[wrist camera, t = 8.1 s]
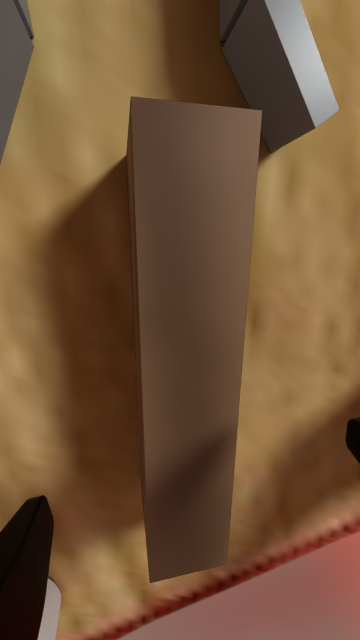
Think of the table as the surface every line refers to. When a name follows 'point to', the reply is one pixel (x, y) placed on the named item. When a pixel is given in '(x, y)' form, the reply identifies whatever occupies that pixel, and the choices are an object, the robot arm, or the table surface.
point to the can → (50, 612)
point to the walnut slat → (189, 317)
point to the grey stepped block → (241, 53)
